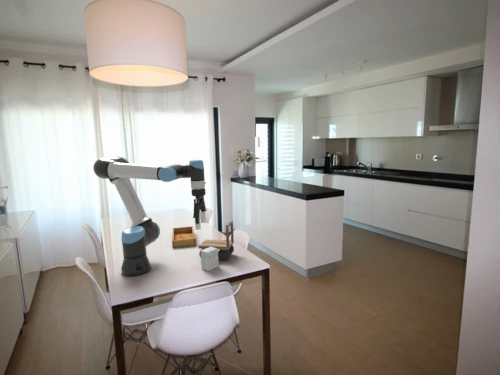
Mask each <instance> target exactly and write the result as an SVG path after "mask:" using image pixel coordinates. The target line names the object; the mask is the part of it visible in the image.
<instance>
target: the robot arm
mask: <svg viewBox="0 0 500 375" xmlns="http://www.w3.org/2000/svg"><path fill="white" fill-rule="evenodd" d="M93 173H94V174H95V175H96V176H97V177H98V178H99V179H102V180H103V179H104V180H106V179H108V180H109V182H110V184H113V185H114V186H115V188H116V190H117V193H118V194H119V197H120V199H121V201H122V204H123V205H124V207H125V210H126V212H127V213H128V216H129V218H130V220H131V222H132V224H131V225H130V227H127V228H125V229H123V230H122V232H121V243H122V245H121V246H122V252H123V253H122V254H123V260H122V264H121V268H120V271H121V272H120V273H121V275H123V276H126V277H137V276H141V275H145V274H147V273H149V272H150V271H151V270H152V265H151V262H150V260H149V258H148V255H147V247H148V246H149V245H151V244H152V243H154V242H155V241H157V239H159V237H160V234H161V230H160V229H161V228H160V226H159V224H158V223H157V222H155V221H153V219H152V217H150V216H149V215H147V213H146V211H145V209H144V207H143V204H142V203H141V200H140V198H139V196H138V194H137V191H136V189H135V188H134V185H133V183H132V181H131V179H137V180H138V179H139V180H152V181H154V180H155V181H161V182H164V183H170V182H172V181H176V180H178V179H179V180H180V179H186V178H187V179H189V178H190V190H191V197H195V198H193V216H192V218H193V219H194V226H195V229H194V230H201V229H202V227H201V224H206V223H207V220H206V212H208V211H207V208H206V203H205V197H204V196H206V188H205V187H206V184H207V182H206V181H205V180H206V179H205V166H204V160H203V159H191V160H189V163H185V164H184V163H183V164H181V163H179V164H177V163H174V164H170V165H155V164H154V165H153V164H143V163H142V164H140V163H139V164H138V163H130V162H129V161H128V159H127V158H125V157H123V156H118V155H116V156H107V157H106V156H104V157H100V158H99V159H96V161H95V162H94V163H93Z"/></svg>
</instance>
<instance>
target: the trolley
mask: <svg viewBox="0 0 500 375" xmlns="http://www.w3.org/2000/svg"><path fill="white" fill-rule="evenodd" d="M229 230H230V233H229ZM229 235H230V236H229ZM225 238H226V239H204V241H202V243H200V244H199V245H198V249H200V250H199V257H200V258H201V250H204V249H206V248H209V247H214V248H217V249H218V260H220V261H223V262H225V261H228V259H229V258H230V256H231V255H232V254H233V252H234V251H235V247H234V244H235V240H234V220H230V221H229V222H228V223H227V224H226V225H225Z"/></svg>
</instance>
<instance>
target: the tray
mask: <svg viewBox="0 0 500 375" xmlns="http://www.w3.org/2000/svg"><path fill="white" fill-rule="evenodd" d="M171 236H172V237H171V244H172V249H175V248H176V249H177V248H185V247H195V246H197V244H196V235H195V229H194V226H192V225H191V226H181V227H179V226H178V227H173V228H172V235H171Z"/></svg>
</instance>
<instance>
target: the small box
mask: <svg viewBox="0 0 500 375" xmlns="http://www.w3.org/2000/svg"><path fill="white" fill-rule="evenodd" d="M200 250H201V249H200ZM218 251H219V249H217V248H214V247H209V248H206V249H204V250H201V257H200V266H201V269H202V270H204V271H207V272H210V271H212V270H214V269H216V268H219V264H220V263H219V258H218Z"/></svg>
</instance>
